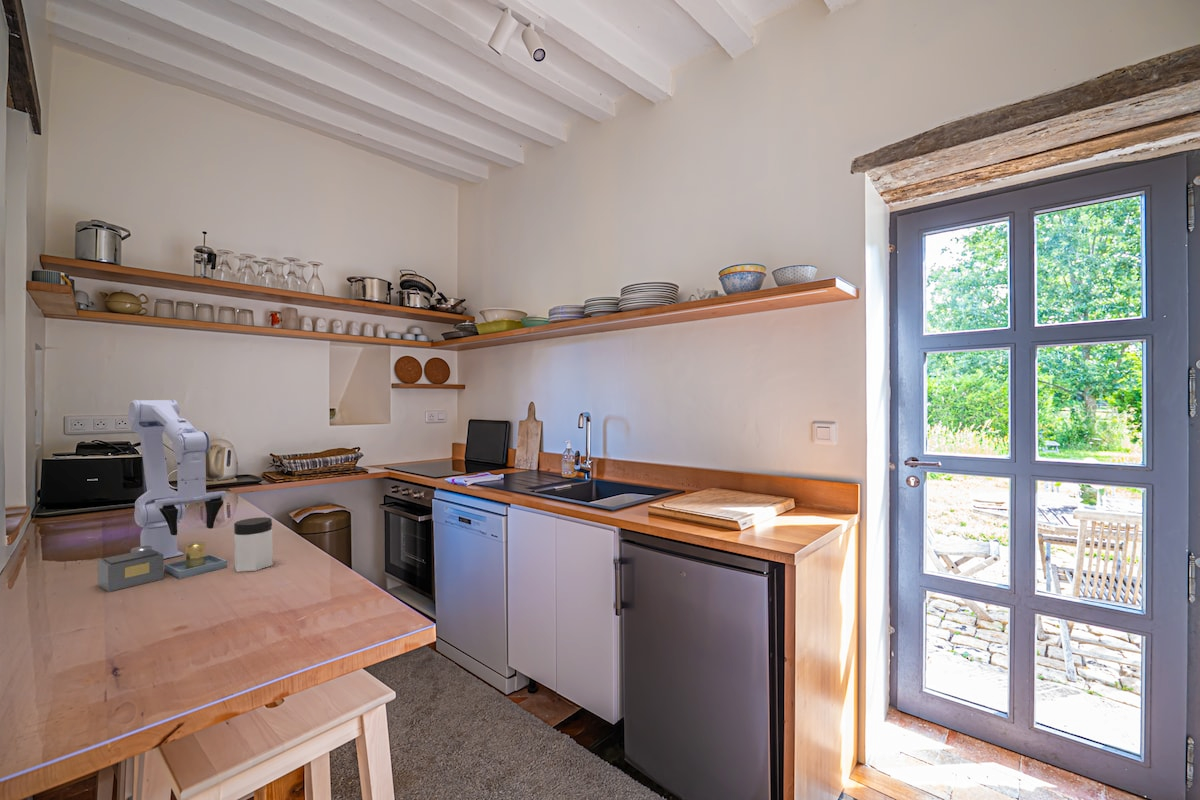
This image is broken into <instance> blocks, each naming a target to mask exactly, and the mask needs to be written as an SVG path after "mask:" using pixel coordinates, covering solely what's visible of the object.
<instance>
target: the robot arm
mask: <svg viewBox="0 0 1200 800" xmlns="http://www.w3.org/2000/svg"><path fill="white" fill-rule="evenodd" d="M127 413H128V421H129V427H130V430H131V431H132V432H133V433H136V434H137V435H138V438H139V441H140V447H141V449H140V450H141V456H142V463H143V471H144V473H143V474H144V479H145V487H146V492H144V493H143V494H141V495H140V496H139V497H138V498H137V499H136V500H135V502H134V514H133V515H134V517H133V518H134V522H135V524H136V525H137V526H138V527H141V528H142V530H141V531H140V537H139V538H140V541H139V543H140V546H152V549H153V550H155V551H157V552H159V553H162V554H163V556H164V560H165V559H169V558H174V557H179V556H183V555H184V552H182V551H180V550H178V524H179V523H181V520H183V518H184V517H185V514H186V505H191V504H197V503H202V502H204V506H205V510H206V512H205V513H206V528H207V529H213V528H214V525H215V521H216V518H217V515H218V513H219V512H220V510H221V508H222V506H223V504H224V500H227V491H225V490H220V491H210V492H207V487H206V486H207V478H206V477H207V476H206V475H207V473H206V472H207V471H206V469H207V468H206V466H207V465H206V463H207V461H206V454H207V453H208V452H209V451H210V449H211V448H210V447H211V439H210V435H209V433H208V432H207V430H201V431H200V430H197V429H196V428H195V427H194V426H193V425H192V423H191V422H190V421H188V419H186V418H184V417H183V418H180V405H179V402H178V401H177V400H175V399H153V400H152V399H151V400H149V399H147V400H146V399H139V400H138V399H133V400H131V402H130V403H129V406H128V411H127ZM163 434H165V435H166V436H167V438H168V439H169V440H170V441H171V442H172V450H173V453H174V461H175V462H176V463H177V464H176V465H177V466H176V467H177V470H176V474H177V475H176V476H177V479H176V480H177V490H175V489H172V488H171V487H170V483H169V477H168V467H167V462H166V454H165V446H164V439H163ZM140 546H139V547H140Z"/></svg>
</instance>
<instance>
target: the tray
mask: <svg viewBox="0 0 1200 800" xmlns="http://www.w3.org/2000/svg"><path fill="white" fill-rule="evenodd" d="M205 562H206V565H203V566H199V567H194V568H190V569H186V559H183V560H178V561H174V562H171V563H170V562H169V563H164V573H166V574H169V575H171V576H173V577H175V578H176V579H179V580H180V579H184V578H189V577H193V576H197V575H200V574H201V575H202V574H204V573H205V574H206V573H208V572H213V571H218V570H221V569H225V568H228V560H227V559H224V558H222V557H220V556H216V555H214V554H211V553H210V554H205Z"/></svg>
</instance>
